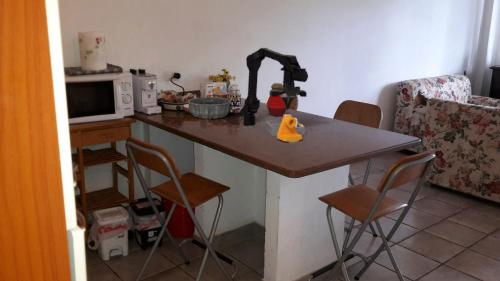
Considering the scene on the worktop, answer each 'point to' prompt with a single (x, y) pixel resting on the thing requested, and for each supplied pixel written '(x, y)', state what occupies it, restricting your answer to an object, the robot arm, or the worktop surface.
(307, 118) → the worktop surface
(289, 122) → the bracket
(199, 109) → the bundt pan
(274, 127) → the switch bank
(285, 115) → the tab
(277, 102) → the bottle
